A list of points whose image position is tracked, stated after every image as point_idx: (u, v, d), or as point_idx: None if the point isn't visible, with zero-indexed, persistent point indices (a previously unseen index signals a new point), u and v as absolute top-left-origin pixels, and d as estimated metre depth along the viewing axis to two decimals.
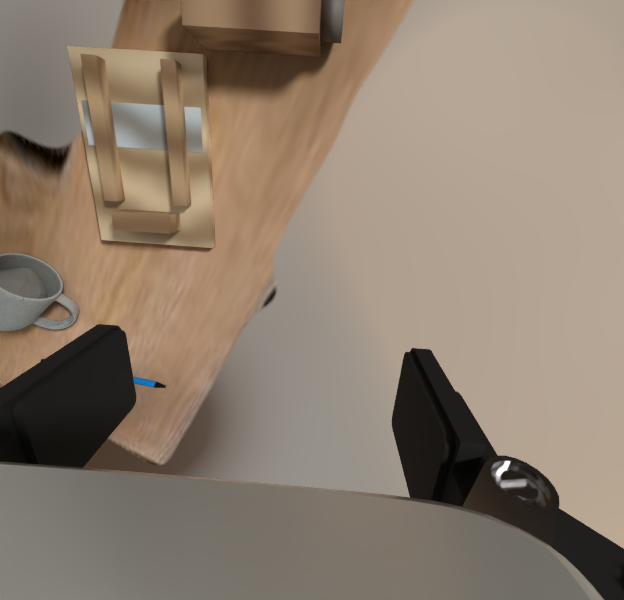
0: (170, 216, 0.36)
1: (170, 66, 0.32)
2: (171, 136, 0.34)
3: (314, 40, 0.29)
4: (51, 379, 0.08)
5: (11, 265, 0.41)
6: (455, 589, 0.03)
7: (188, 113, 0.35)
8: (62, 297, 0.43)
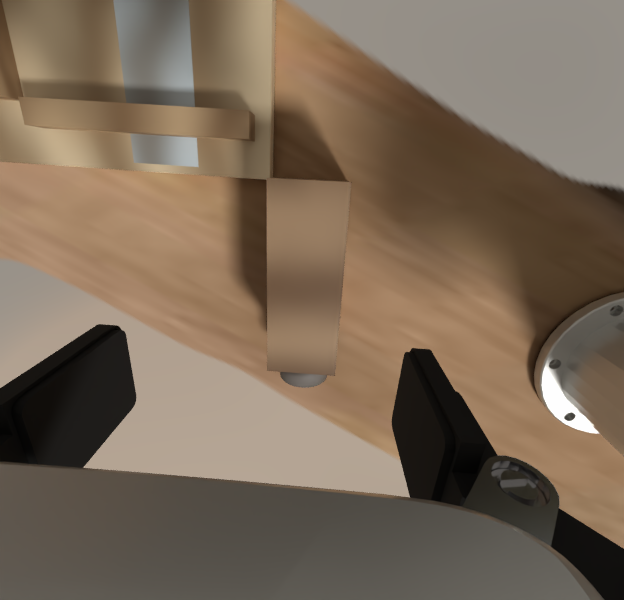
0: None
1: (239, 129, 0.19)
2: (135, 112, 0.19)
3: None
4: (51, 379, 0.08)
5: None
6: (455, 589, 0.03)
7: (187, 144, 0.21)
8: None
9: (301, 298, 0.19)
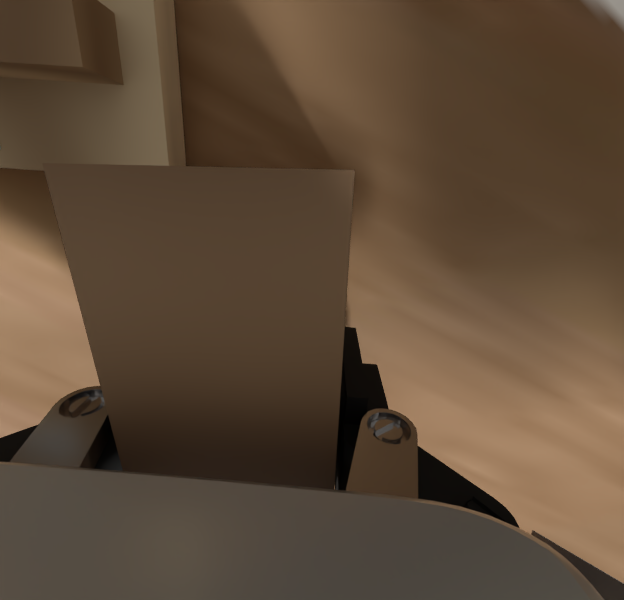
0: None
1: (50, 37, 0.07)
2: None
3: None
4: None
5: None
6: (455, 589, 0.03)
7: None
8: None
9: None
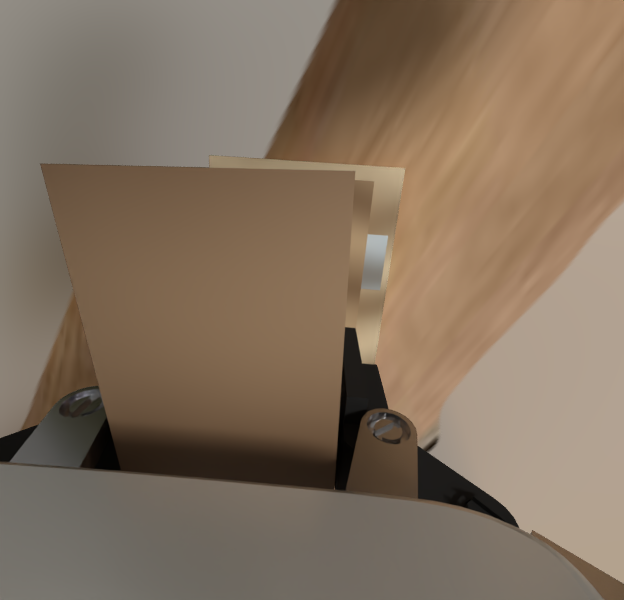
0: None
1: (365, 190, 0.22)
2: (348, 277, 0.24)
3: None
4: None
5: None
6: (455, 589, 0.03)
7: (369, 242, 0.25)
8: None
9: None
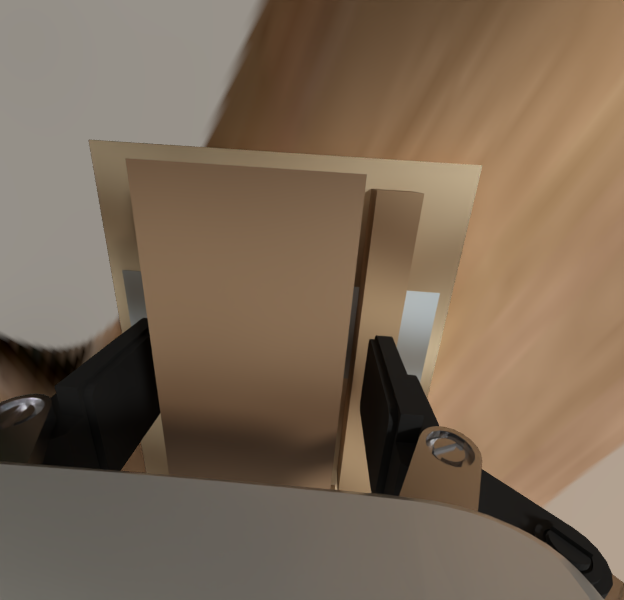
0: None
1: (405, 211, 0.10)
2: None
3: None
4: (112, 366, 0.08)
5: None
6: (455, 589, 0.03)
7: (404, 305, 0.13)
8: None
9: (243, 442, 0.08)
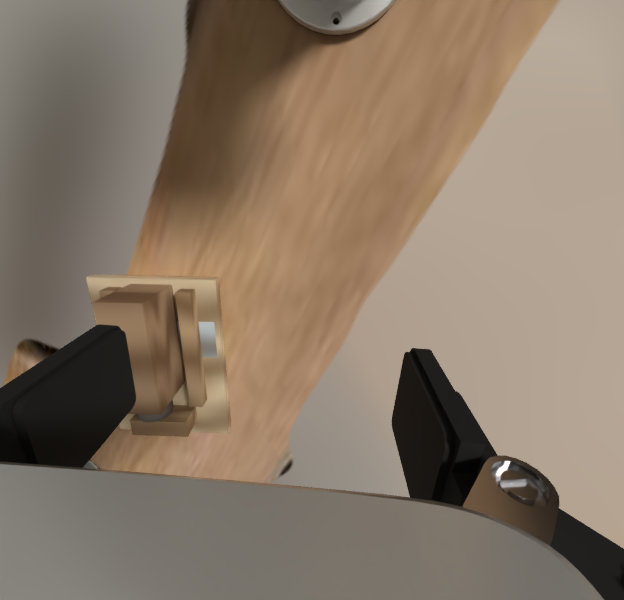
0: (187, 420, 0.37)
1: (185, 298, 0.33)
2: (187, 352, 0.35)
3: None
4: (51, 379, 0.08)
5: None
6: (455, 589, 0.03)
7: (202, 327, 0.36)
8: None
9: None
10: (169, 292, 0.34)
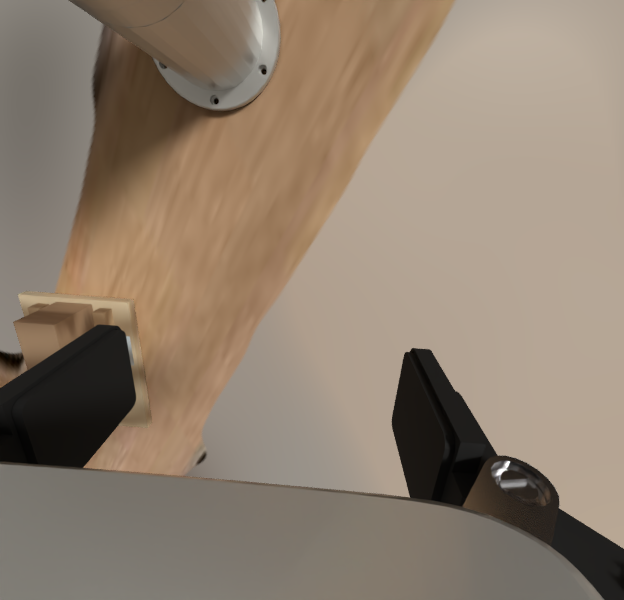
0: None
1: (100, 317, 0.39)
2: None
3: None
4: (51, 379, 0.08)
5: None
6: (455, 589, 0.03)
7: None
8: None
9: None
10: (88, 311, 0.40)
